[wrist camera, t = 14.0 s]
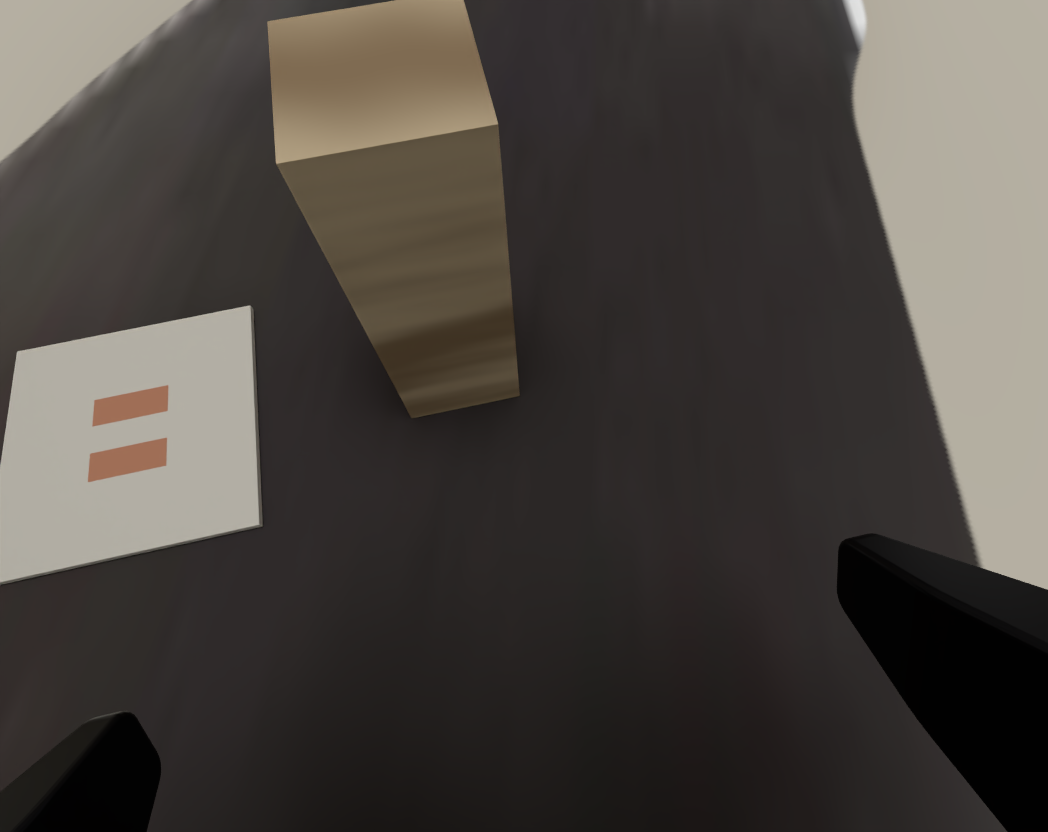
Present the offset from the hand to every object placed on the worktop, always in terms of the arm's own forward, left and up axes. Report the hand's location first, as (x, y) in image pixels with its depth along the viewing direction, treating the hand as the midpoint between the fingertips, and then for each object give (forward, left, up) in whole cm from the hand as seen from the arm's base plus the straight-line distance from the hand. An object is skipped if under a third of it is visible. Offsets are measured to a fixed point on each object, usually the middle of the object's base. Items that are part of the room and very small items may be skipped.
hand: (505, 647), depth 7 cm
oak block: (+11, +5, -14) cm, 18 cm away
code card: (+5, +17, -14) cm, 23 cm away
